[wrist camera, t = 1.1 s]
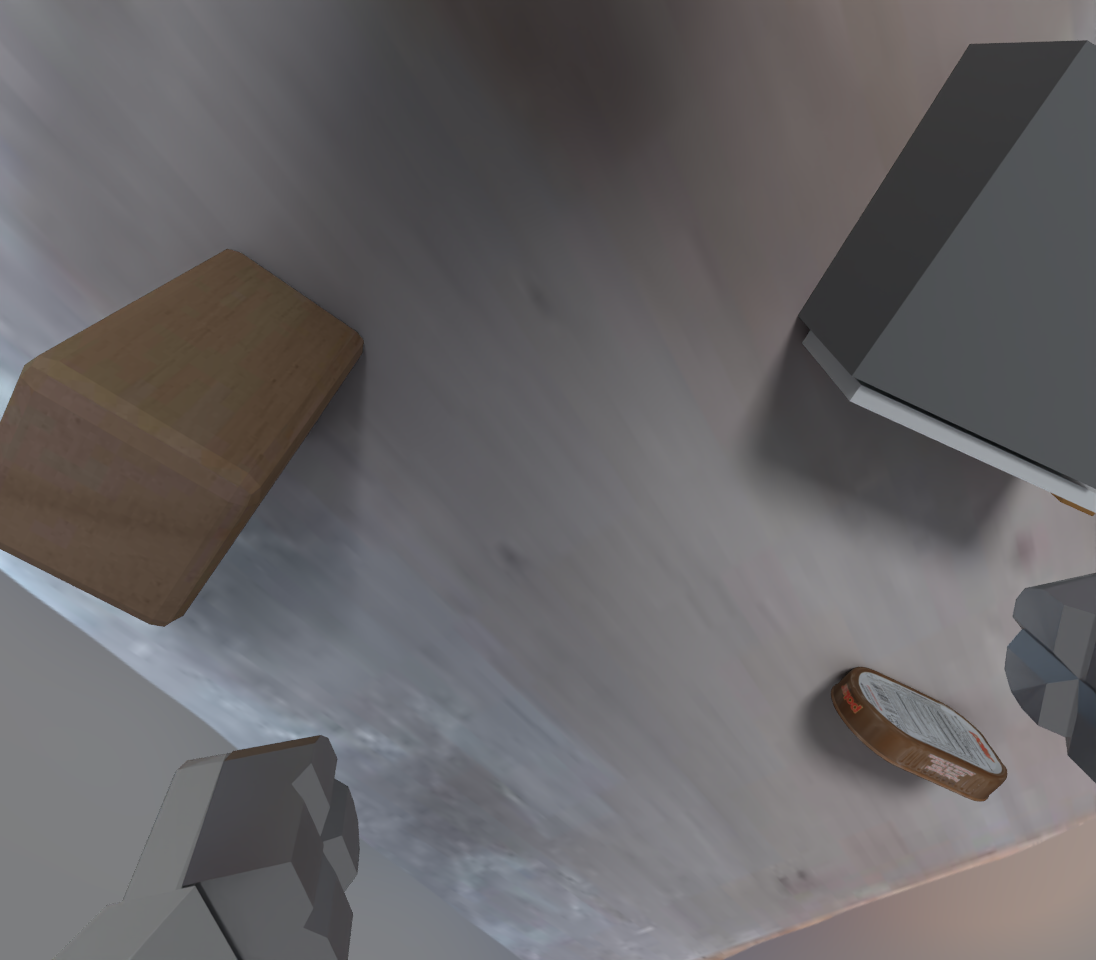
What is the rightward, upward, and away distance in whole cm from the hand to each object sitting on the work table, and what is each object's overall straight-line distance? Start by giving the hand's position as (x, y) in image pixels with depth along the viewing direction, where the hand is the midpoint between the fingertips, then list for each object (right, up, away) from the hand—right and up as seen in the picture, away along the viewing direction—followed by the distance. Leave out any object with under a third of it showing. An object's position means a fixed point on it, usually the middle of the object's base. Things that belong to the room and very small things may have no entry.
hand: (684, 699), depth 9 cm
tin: (+28, -15, +54) cm, 62 cm away
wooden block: (-20, +11, +39) cm, 46 cm away
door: (+23, +8, +39) cm, 46 cm away
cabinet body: (+25, +16, +35) cm, 46 cm away
